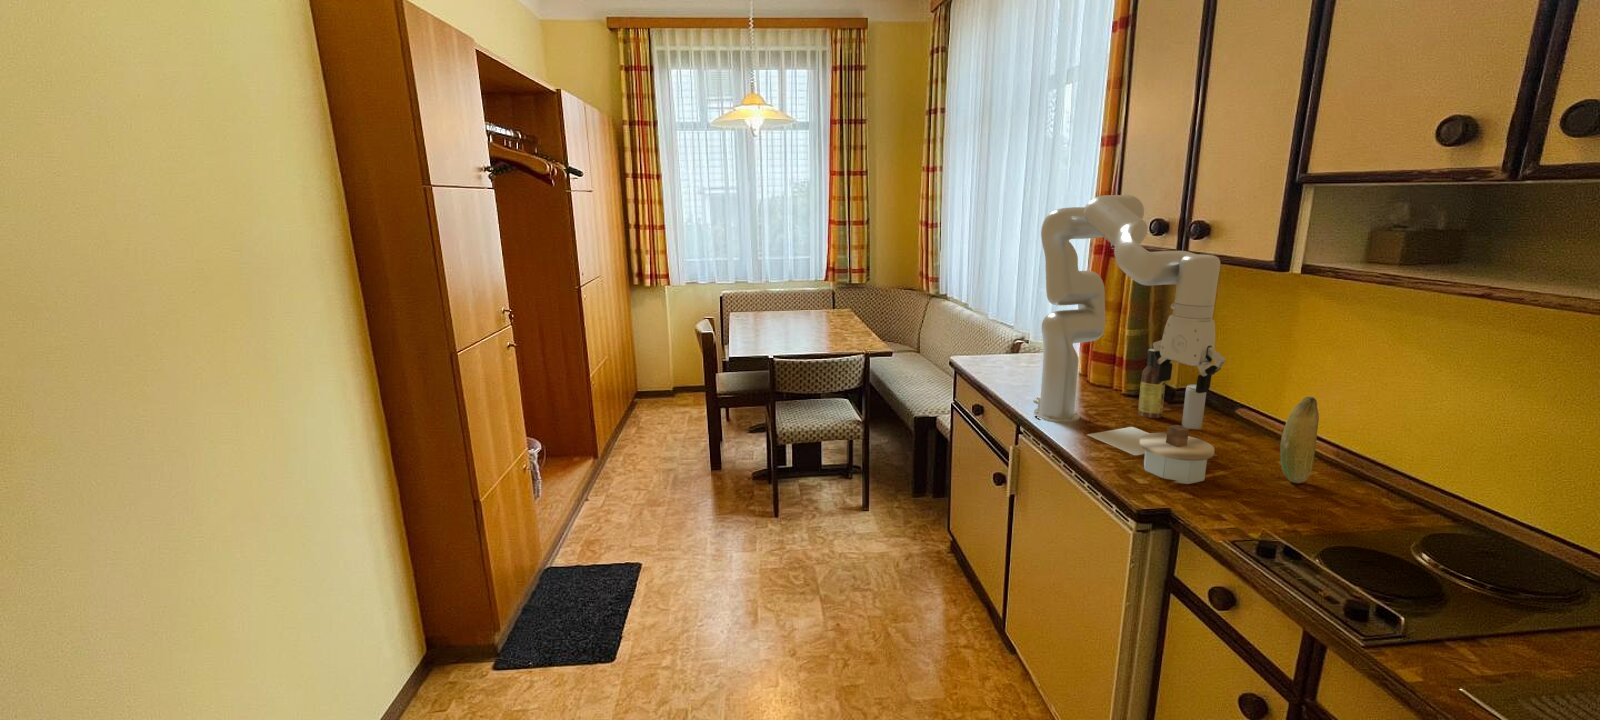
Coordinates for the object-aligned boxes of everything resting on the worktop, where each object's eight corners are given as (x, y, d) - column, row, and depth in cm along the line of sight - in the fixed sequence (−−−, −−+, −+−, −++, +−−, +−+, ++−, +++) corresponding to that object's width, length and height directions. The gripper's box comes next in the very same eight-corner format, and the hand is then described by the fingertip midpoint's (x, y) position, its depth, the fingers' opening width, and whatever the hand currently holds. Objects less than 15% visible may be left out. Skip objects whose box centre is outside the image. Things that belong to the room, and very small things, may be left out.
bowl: (1132, 466, 154) (1134, 443, 153) (1169, 459, 158) (1172, 436, 157) (1176, 486, 143) (1179, 461, 142) (1215, 478, 147) (1219, 453, 146)
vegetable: (1303, 490, 140) (1319, 402, 135) (1269, 481, 145) (1283, 396, 140) (1313, 483, 143) (1328, 397, 139) (1280, 474, 148) (1294, 391, 144)
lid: (1124, 441, 154) (1126, 421, 153) (1172, 433, 159) (1174, 413, 157) (1179, 464, 140) (1182, 443, 139) (1230, 454, 145) (1233, 433, 144)
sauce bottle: (1164, 420, 185) (1172, 353, 181) (1141, 419, 187) (1148, 352, 182) (1157, 413, 192) (1164, 347, 187) (1134, 412, 193) (1141, 347, 188)
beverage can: (1200, 426, 180) (1206, 385, 177) (1201, 432, 176) (1207, 389, 173) (1180, 424, 182) (1186, 383, 179) (1181, 429, 178) (1186, 387, 175)
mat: (1086, 436, 174) (1086, 434, 174) (1131, 428, 179) (1132, 426, 179) (1134, 457, 159) (1134, 455, 159) (1182, 448, 165) (1183, 446, 165)
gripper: (1147, 306, 148) (1138, 378, 153) (1217, 320, 133) (1205, 399, 137) (1171, 304, 151) (1162, 374, 155) (1243, 317, 135) (1230, 395, 139)
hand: (1182, 386), depth 146 cm, fingers open, 9 cm apart
